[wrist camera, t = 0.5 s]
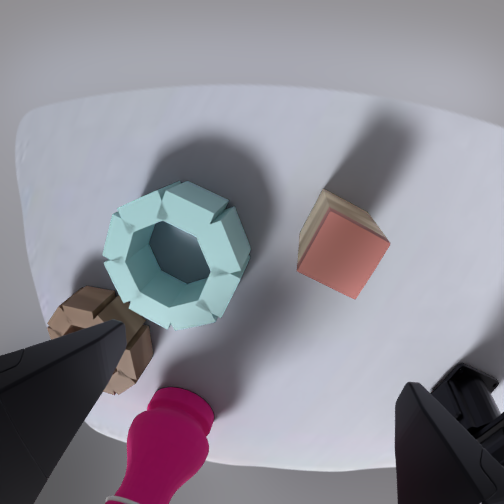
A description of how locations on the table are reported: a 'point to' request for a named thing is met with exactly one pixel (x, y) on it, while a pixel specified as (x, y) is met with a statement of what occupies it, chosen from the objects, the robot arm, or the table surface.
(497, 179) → the table surface
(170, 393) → the pepper mill
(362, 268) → the pink two-tone square block
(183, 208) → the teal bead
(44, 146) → the table surface
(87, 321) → the brown segmented ring
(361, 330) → the table surface
